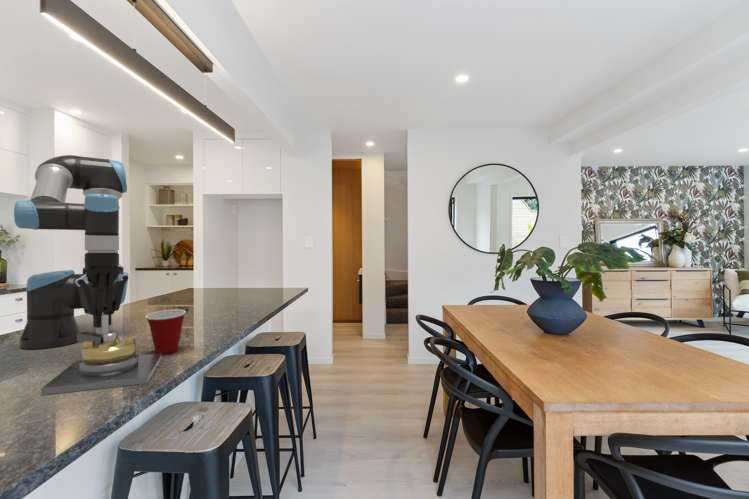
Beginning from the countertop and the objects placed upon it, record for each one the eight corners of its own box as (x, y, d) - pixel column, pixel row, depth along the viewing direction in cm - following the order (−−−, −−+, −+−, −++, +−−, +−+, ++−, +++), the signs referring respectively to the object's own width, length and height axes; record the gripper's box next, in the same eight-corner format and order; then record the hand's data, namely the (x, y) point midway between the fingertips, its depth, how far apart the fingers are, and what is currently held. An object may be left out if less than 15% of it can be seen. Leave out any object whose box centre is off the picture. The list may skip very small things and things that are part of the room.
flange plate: (76, 366, 99) (76, 351, 99) (162, 358, 106) (162, 344, 106) (41, 395, 80) (41, 376, 80) (147, 383, 88) (147, 366, 88)
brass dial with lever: (145, 354, 96) (145, 331, 96) (99, 367, 86) (99, 341, 86) (103, 346, 103) (103, 324, 103) (56, 357, 93) (56, 333, 93)
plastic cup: (136, 354, 110) (136, 314, 109) (167, 345, 120) (168, 308, 120) (163, 359, 106) (163, 317, 106) (193, 349, 116) (194, 310, 116)
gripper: (118, 251, 108) (118, 332, 108) (66, 252, 96) (66, 342, 96) (135, 251, 105) (135, 334, 106) (83, 252, 93) (84, 346, 94)
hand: (102, 338), depth 101 cm, fingers closed
